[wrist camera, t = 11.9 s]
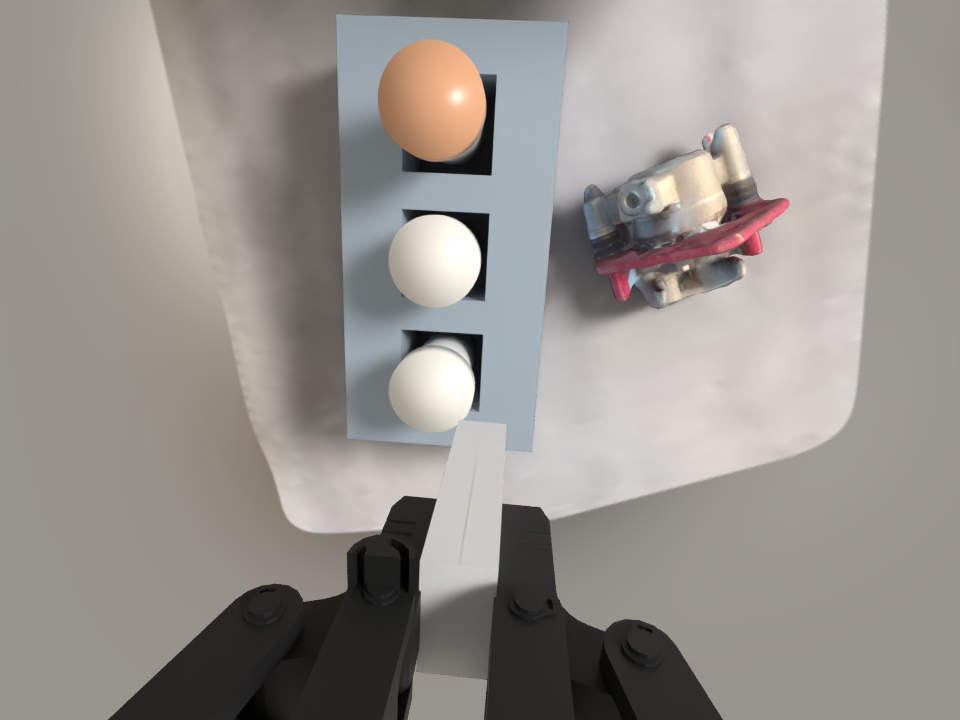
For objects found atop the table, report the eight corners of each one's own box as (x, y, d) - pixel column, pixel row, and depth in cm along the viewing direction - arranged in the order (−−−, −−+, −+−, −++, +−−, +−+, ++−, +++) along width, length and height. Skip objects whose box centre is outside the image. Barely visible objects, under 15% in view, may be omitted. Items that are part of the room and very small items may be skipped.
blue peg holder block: (372, 55, 33) (335, 14, 26) (557, 62, 32) (569, 21, 26) (375, 400, 40) (347, 438, 33) (528, 411, 39) (531, 452, 32)
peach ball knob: (416, 88, 29) (377, 37, 21) (495, 91, 29) (487, 41, 21) (415, 172, 31) (378, 155, 22) (490, 175, 31) (481, 160, 22)
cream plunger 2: (418, 317, 35) (388, 349, 27) (484, 321, 35) (475, 355, 27) (417, 379, 36) (388, 429, 28) (480, 384, 36) (470, 435, 28)
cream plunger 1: (420, 213, 33) (388, 212, 25) (489, 216, 33) (481, 217, 25) (419, 283, 35) (388, 304, 26) (486, 286, 34) (477, 310, 26)
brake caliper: (620, 360, 35) (616, 277, 24) (569, 235, 39) (546, 118, 28) (788, 302, 33) (865, 185, 22) (715, 178, 38) (750, 30, 27)
